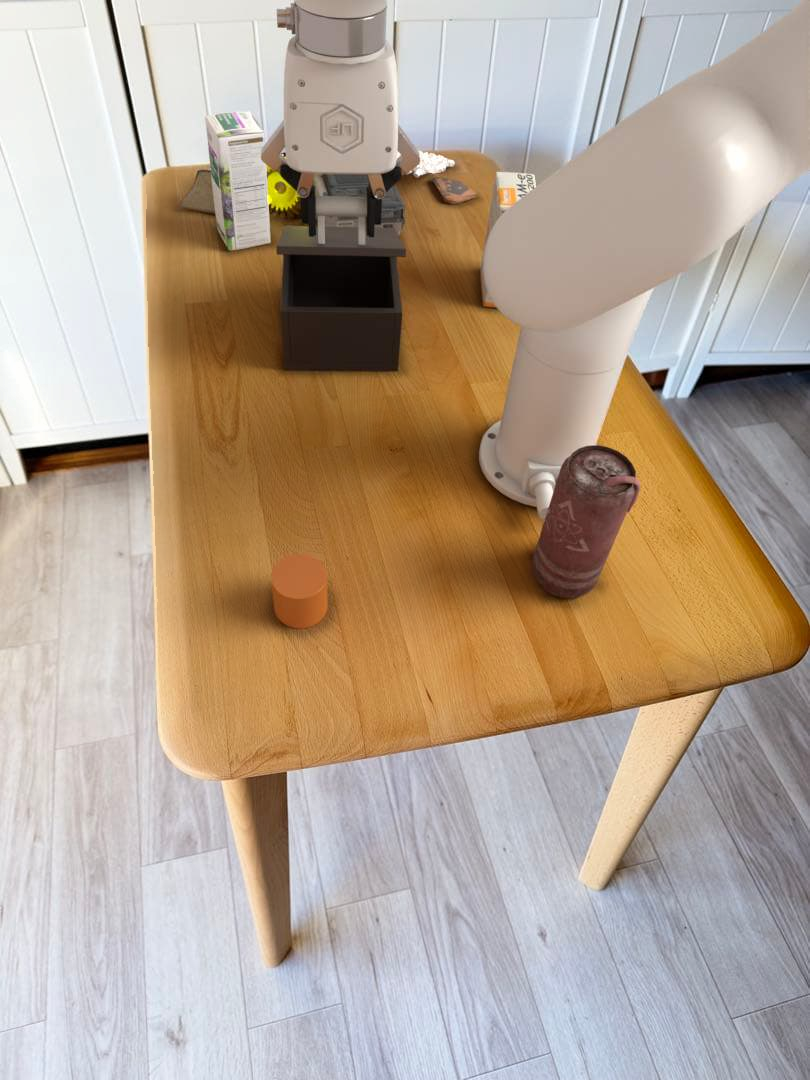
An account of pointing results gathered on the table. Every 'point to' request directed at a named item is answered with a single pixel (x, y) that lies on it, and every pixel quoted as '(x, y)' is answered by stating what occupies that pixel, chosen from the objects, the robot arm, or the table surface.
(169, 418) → the table surface
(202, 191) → the ceramic shard
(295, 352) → the box
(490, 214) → the supplement box
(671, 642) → the table surface
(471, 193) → the pottery shard
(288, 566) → the orange cylinder
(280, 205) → the gear
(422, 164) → the salt crystals
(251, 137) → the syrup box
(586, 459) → the can
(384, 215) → the camera
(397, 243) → the chamber lid
